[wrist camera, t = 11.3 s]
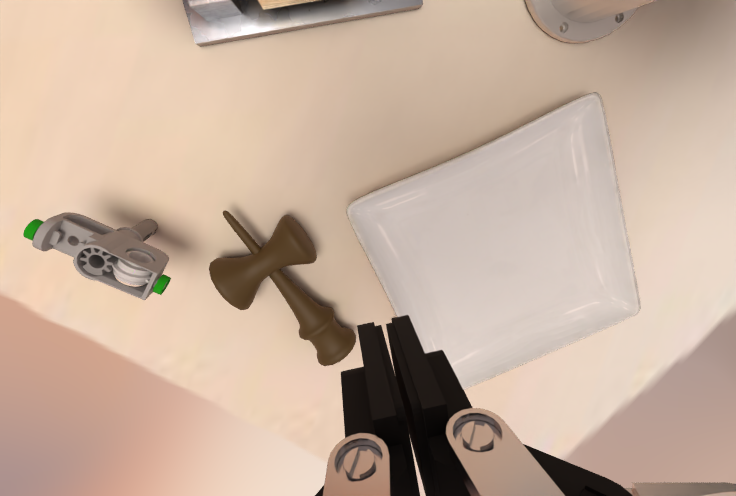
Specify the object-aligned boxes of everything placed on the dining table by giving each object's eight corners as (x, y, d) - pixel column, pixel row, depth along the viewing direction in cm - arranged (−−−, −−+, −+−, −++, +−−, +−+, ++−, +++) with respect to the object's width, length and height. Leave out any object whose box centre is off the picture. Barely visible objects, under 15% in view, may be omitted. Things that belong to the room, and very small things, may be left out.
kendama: (305, 357, 46) (191, 229, 39) (370, 315, 46) (267, 177, 38) (305, 390, 41) (172, 249, 33) (379, 343, 40) (261, 189, 33)
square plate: (621, 299, 49) (646, 314, 45) (427, 383, 49) (435, 405, 46) (580, 90, 39) (606, 87, 35) (340, 198, 40) (342, 207, 36)
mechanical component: (103, 189, 37) (27, 215, 27) (204, 238, 39) (167, 276, 30) (92, 215, 37) (15, 248, 28) (193, 261, 40) (153, 306, 31)
